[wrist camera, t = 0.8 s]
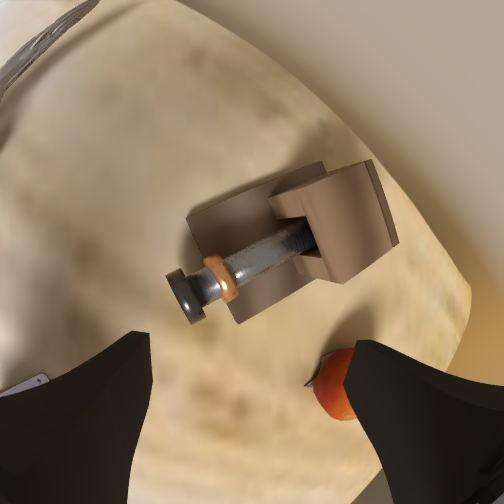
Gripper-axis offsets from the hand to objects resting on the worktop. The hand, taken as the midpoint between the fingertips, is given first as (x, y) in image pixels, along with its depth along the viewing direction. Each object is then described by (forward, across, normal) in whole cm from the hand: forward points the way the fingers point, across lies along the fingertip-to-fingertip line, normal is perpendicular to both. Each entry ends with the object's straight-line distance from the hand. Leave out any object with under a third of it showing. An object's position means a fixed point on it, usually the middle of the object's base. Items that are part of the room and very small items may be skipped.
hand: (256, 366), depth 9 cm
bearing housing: (+17, -4, -2) cm, 18 cm away
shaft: (+15, -1, 0) cm, 15 cm away
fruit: (+16, -13, +13) cm, 25 cm away
